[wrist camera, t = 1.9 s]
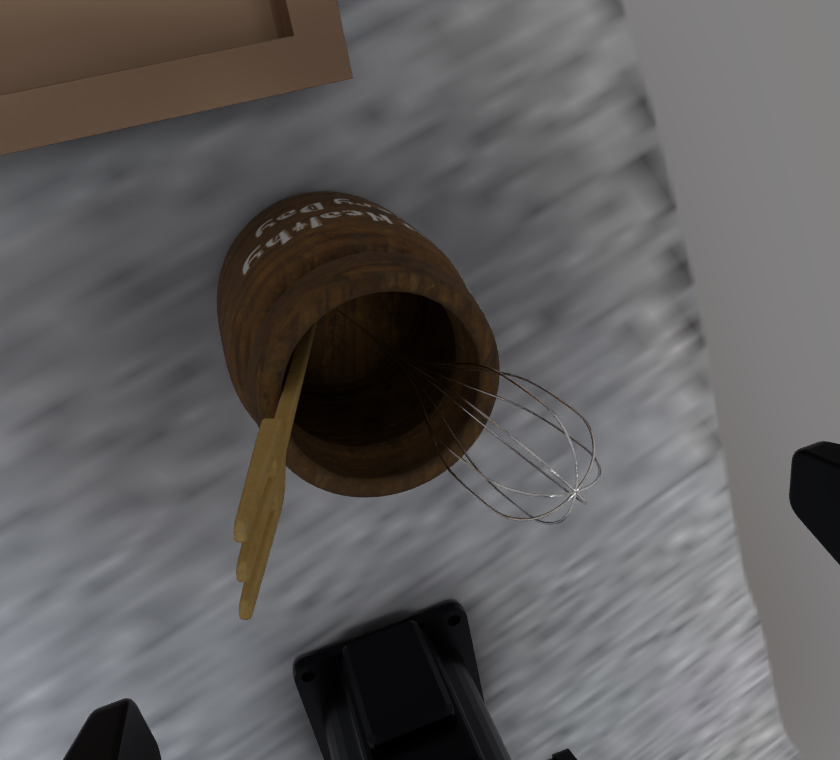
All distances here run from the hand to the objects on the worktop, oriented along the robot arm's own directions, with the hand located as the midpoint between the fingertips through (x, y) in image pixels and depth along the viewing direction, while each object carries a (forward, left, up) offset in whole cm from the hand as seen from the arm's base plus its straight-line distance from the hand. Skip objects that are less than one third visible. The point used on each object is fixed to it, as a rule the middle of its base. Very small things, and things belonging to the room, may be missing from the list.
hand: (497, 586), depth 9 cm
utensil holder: (0, 0, -13) cm, 13 cm away
